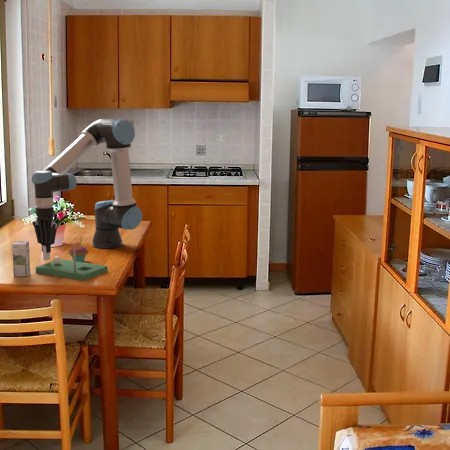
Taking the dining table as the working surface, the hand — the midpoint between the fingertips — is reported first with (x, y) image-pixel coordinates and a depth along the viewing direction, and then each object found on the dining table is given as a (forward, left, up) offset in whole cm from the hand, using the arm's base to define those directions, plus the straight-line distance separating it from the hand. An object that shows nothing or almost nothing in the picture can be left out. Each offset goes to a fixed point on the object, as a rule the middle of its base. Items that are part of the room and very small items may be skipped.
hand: (46, 259), depth 278 cm
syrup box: (+14, -1, -4) cm, 15 cm away
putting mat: (0, +14, -4) cm, 14 cm away
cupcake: (-16, +5, -4) cm, 17 cm away
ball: (0, +6, 0) cm, 6 cm away
